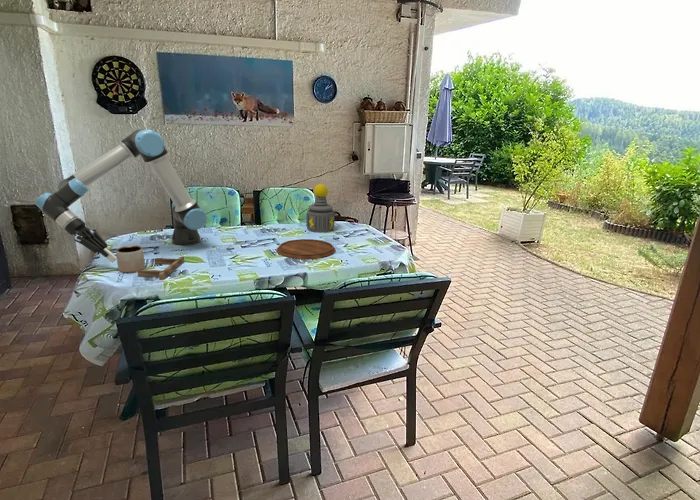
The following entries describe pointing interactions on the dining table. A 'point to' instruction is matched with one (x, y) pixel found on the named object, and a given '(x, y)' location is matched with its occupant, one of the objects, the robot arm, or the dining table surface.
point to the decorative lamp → (320, 212)
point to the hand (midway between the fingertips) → (114, 260)
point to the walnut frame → (162, 274)
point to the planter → (130, 259)
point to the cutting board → (306, 249)
